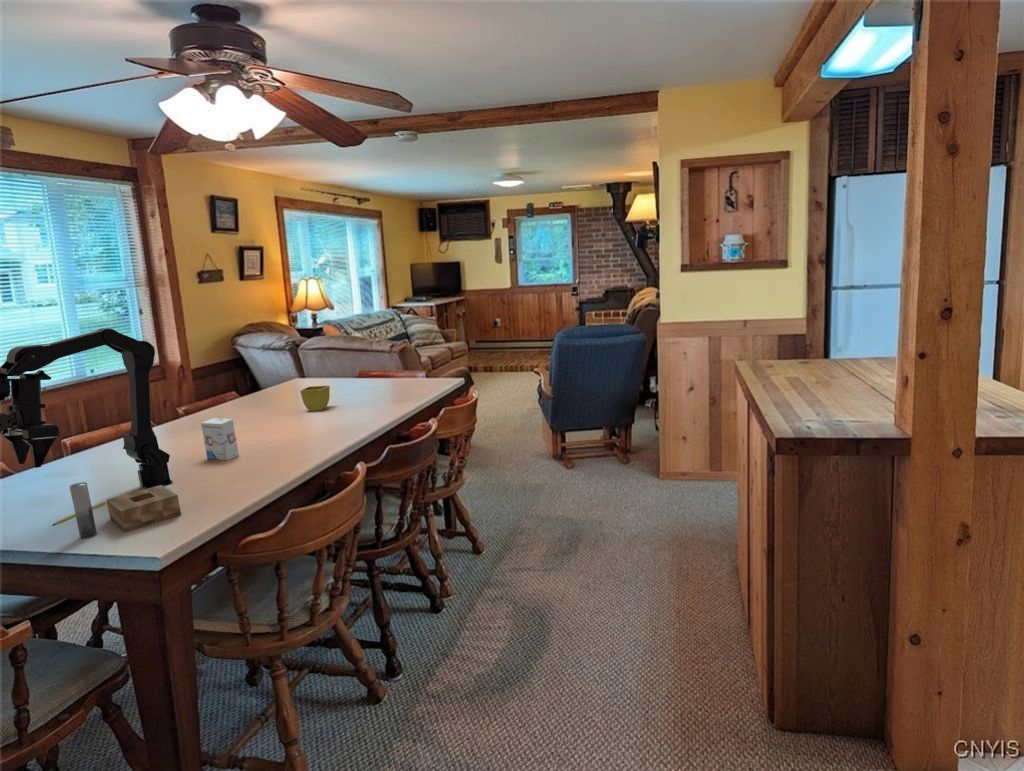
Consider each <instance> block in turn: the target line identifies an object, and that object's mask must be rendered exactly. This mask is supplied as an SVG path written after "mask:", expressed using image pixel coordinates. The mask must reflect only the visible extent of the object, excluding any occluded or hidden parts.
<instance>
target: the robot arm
mask: <svg viewBox="0 0 1024 771" xmlns="http://www.w3.org/2000/svg"><path fill="white" fill-rule="evenodd" d="M102 346H106V347H108V348H110V349H111V350H114V351H115V352H117V353H119V354H121V358H122V361H123V365H124V368H125V369H126V371H127V373H128V380H129V399H130V400H129V401H130V404H129V405H130V420H131V421H130V422H131V424H130V425H131V426H130V430H129V432H128V433H127V434H126V433H123V434H122V438H123V447H122V450H125V454H126V455H127V456H128V457H130V458H131V459H134V461H135V463H137V464H138V470H137V475H138V480H139V485H140V486H141V487H143V489H148V488H151V487H155V486H159V485H162V486H165V485H169V484H173V480H171V476H170V472H169V466H168V463H169V462H170V456H171V454H170V453H168V452H166V451H164V450H162V449H161V448H160V447H159V442H158V439H157V436H156V434H155V432H154V429H153V427H152V417H151V416H152V415H151V414H152V412H151V392H150V391H151V390H150V373H151V371H152V368H153V366H154V362H155V356H156V351H155V350H156V349H155V346H154V345H153V344H152V343H150V342H148V341H147V340H146V341H145V340H138V339H136V338H134V337H131V336H128V335H126V334H122V333H121V332H118V331H117V330H115V329H114V328H107V327H105V328H104V327H103V328H102V327H101V328H99V329H98V330H95V331H94V330H93V331H91V332H86V333H83V334H80V335H76V336H72V337H68V338H65V339H61V340H58V341H53V342H49V343H43V344H42V343H41V344H40V343H39V344H29V345H21V346H15V347H13V348H11V349H10V350H9V351H8V353H7V354H6V360H5V361H4V362H3V364H2V365H1V366H0V402H3V401H4V402H5V400H6V398H8V397H10V400H11V404H8V405H7V406H6V411H4V412H1V413H0V437H1V438H3V439H4V440H6V441H7V442H9V443H10V445H11V446H10V447H12V449H13V450H12V451H13V452H14V456H15V458H16V460H17V463H18V465H24V464H25V463H26V460H27V458H28V454H29V451H30V452H31V457H32V462H33V465H34V468H37V469H38V468H41V467H42V465H43V463H44V462H45V460H46V457H47V455H48V453H49V451H50V449H51V448H52V446H53V445H54V443H55V440H57V438H58V437H59V436H60V427H59V426H57V425H56V424H55V423H47V421H46V420H43V409H46V403H43V402H42V400H43V399H42V381H51V380H52V376H50V375H48V374H47V373H45V371H44V370H43V369H42V368H45V367H46V366H48V365H51V364H52V363H54V362H55V361H57V360H59V359H61V358H64V357H67V356H71V355H74V354H78V353H81V352H85V351H88V350H92V349H95V348H98V347H102ZM35 371H36V372H35ZM27 372H29V373H27ZM30 372H31V373H30ZM32 372H34V373H32ZM9 377H12V378H9ZM14 377H16V378H14ZM17 377H18V378H17Z"/></svg>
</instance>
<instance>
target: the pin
mask: <svg viewBox="0 0 1024 771" xmlns="http://www.w3.org/2000/svg"><path fill="white" fill-rule="evenodd" d="M69 490H70V495H71V500H72V504H73V509H74V514H75V515H76V517H75V519H76V524H77V528H78V533H79V534H78V535H79V538H80V539H82V540H85V539H90V538H93V537H95V536H96V535H98V531H97V526H96V522H95V517H94V512H93V510H92V506H93V505H92V502H91V496H90V493H89V488H88V483H87V482H85V481H84V482H83V481H82V482H76V483H73V484H71V485H69Z"/></svg>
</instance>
